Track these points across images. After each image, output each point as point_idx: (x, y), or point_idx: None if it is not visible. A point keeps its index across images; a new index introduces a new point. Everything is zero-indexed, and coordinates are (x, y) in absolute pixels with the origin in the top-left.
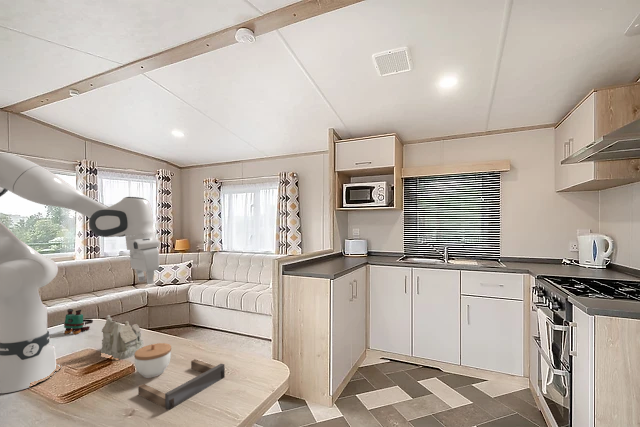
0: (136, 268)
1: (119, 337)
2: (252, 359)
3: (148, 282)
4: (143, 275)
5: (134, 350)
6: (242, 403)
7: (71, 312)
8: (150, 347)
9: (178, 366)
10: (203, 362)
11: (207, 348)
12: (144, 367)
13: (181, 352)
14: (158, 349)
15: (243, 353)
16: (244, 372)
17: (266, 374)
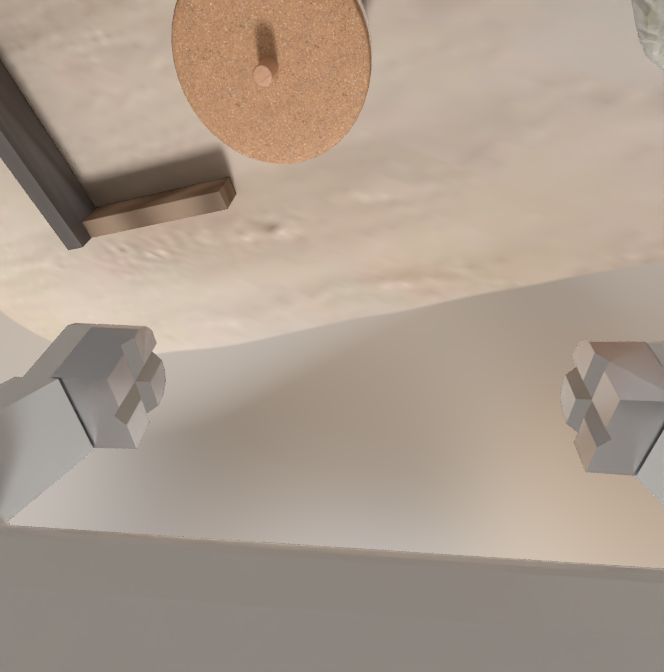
0: (628, 605)
1: None
2: (169, 333)
3: (61, 342)
4: (650, 480)
5: (649, 29)
6: None
7: None
8: (309, 63)
9: None
10: (175, 217)
11: (369, 294)
12: None
13: (421, 213)
14: (243, 89)
15: (231, 340)
16: (94, 278)
17: (51, 306)
